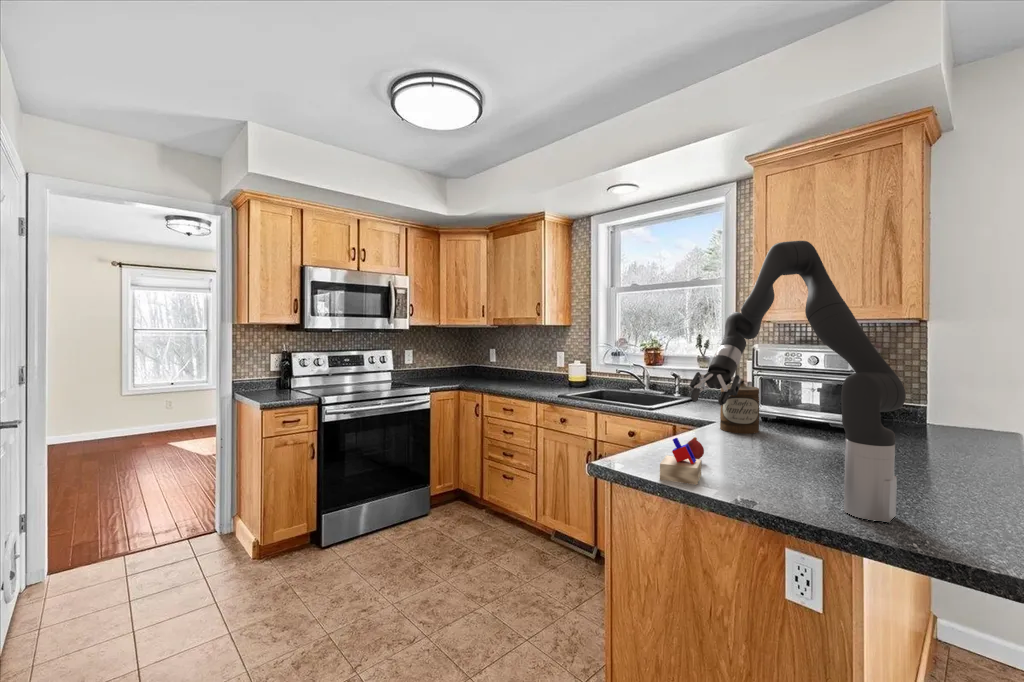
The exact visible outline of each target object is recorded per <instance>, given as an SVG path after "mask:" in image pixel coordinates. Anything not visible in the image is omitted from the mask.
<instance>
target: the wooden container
mask: <svg viewBox="0 0 1024 682" xmlns="http://www.w3.org/2000/svg"><path fill="white" fill-rule="evenodd" d="M740 379H741V381H742V382H741V385H740V388H739V391H738V393H737V395H736V396H734V395H730V396H729V397H728V399H727V401H726V403H725V404H723V406H721V405H720V412H719V413H720V414H719V416H720V418H719V419H720V421H719V424H720V425H719V429H720V430H721V431H723V432H727V433H734V434H742V435H743V434H744V435H752V434H753V435H755V434H757V433H759V432H760V388H758V386H757V387H755V386H751V385H746V384H745V379H743V378H741V377H740ZM726 386H727V388H728V389H731V386H732V384H730V385H729V384H728V385H726ZM722 392H724V390H723V388H720V395H721V394H722Z"/></svg>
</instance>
